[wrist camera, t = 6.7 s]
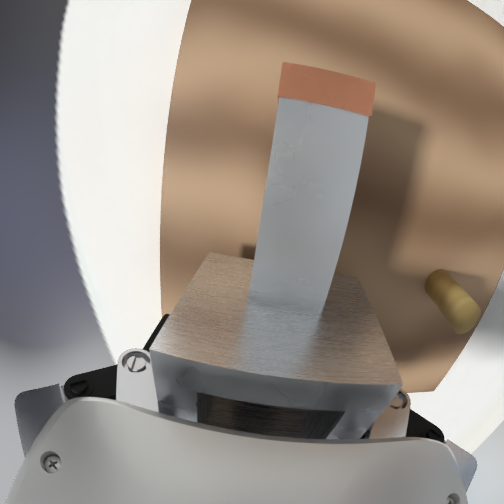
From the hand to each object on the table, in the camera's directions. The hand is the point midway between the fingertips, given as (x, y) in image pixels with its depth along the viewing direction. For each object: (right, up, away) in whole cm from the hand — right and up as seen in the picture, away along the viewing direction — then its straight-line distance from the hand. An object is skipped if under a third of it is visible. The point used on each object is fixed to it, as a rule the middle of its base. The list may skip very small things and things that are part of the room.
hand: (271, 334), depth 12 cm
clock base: (+5, +7, 0) cm, 9 cm away
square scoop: (+1, +3, -1) cm, 3 cm away
